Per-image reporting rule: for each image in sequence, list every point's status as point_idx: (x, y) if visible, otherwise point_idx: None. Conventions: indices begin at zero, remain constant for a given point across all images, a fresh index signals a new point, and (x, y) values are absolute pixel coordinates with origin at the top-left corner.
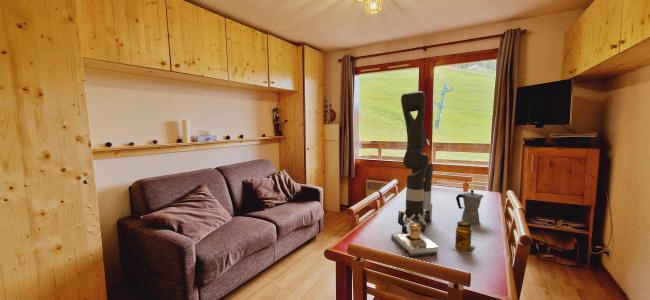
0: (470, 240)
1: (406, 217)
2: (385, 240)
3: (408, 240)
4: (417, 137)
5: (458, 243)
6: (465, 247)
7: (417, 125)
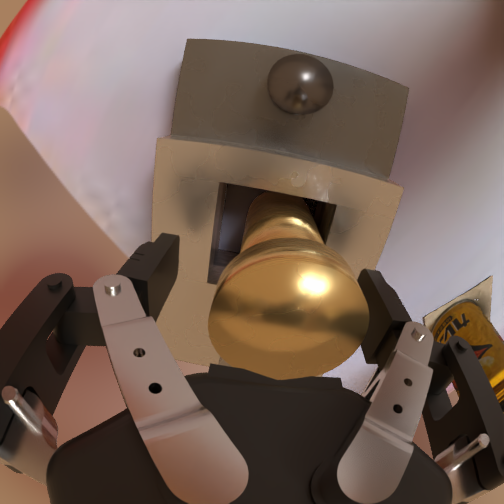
0: None
1: (134, 373)
2: (132, 77)
3: (197, 270)
4: None
5: None
6: None
7: None
